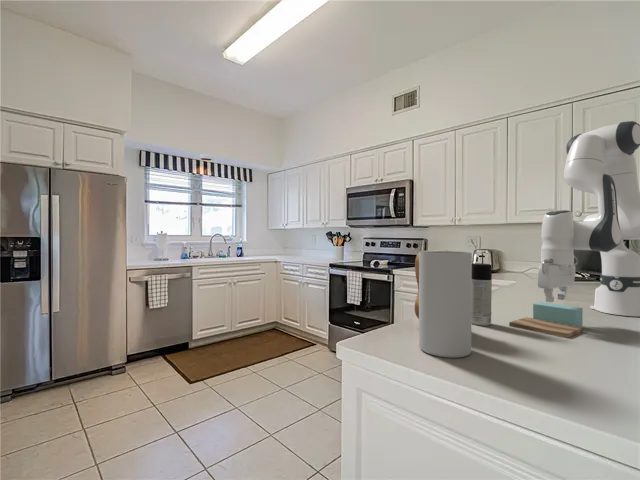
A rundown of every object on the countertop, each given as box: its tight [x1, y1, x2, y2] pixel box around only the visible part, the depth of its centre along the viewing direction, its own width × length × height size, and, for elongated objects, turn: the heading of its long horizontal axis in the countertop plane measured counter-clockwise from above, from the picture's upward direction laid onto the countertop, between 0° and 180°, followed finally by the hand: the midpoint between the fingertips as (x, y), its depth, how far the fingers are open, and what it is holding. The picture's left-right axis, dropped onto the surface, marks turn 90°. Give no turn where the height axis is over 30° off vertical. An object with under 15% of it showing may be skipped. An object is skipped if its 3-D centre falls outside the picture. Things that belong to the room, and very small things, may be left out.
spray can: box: [471, 262, 493, 327], centre depth 111 cm, size 7×7×20 cm
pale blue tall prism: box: [532, 301, 584, 327], centre depth 110 cm, size 6×12×6 cm, turn 35°
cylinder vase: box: [418, 250, 473, 359], centre depth 84 cm, size 12×12×25 cm
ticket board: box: [508, 316, 584, 339], centre depth 105 cm, size 12×16×1 cm
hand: (555, 300), depth 110 cm, fingers open, 8 cm apart
